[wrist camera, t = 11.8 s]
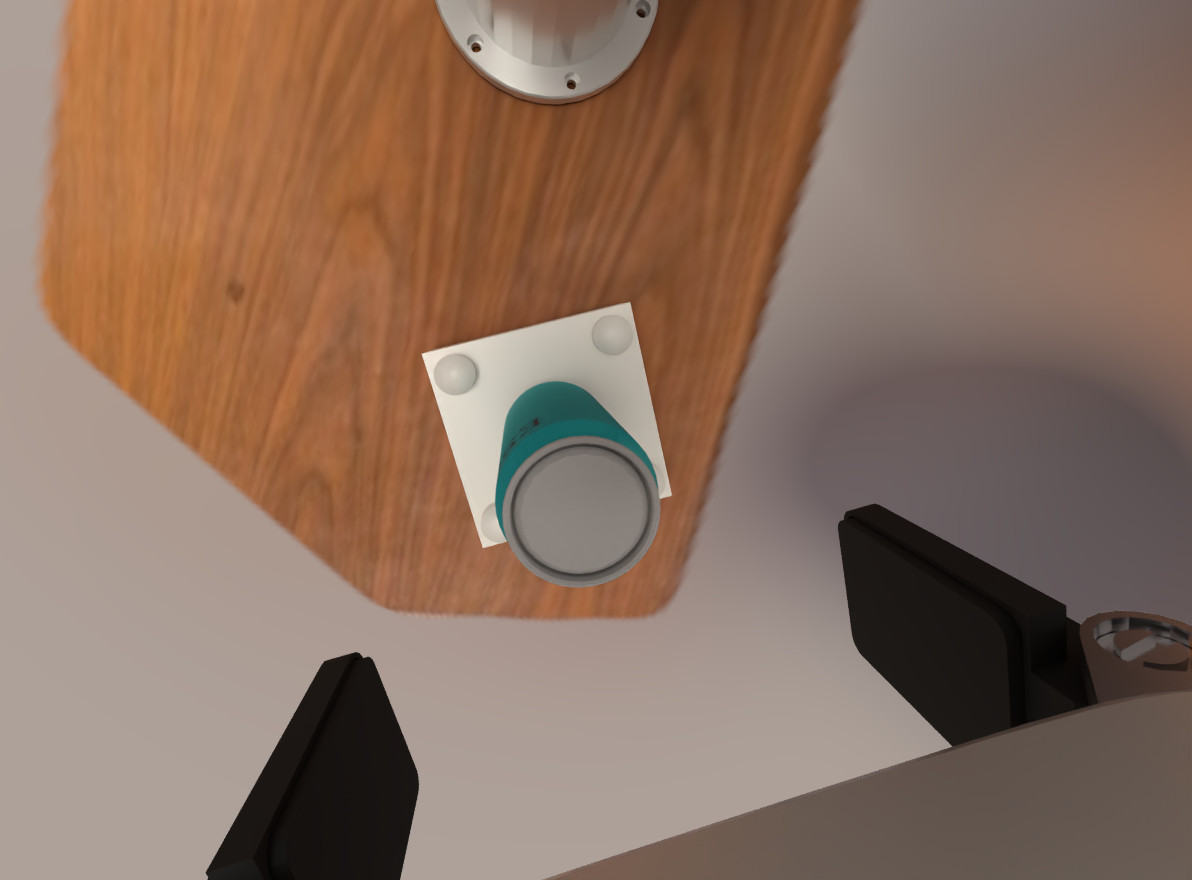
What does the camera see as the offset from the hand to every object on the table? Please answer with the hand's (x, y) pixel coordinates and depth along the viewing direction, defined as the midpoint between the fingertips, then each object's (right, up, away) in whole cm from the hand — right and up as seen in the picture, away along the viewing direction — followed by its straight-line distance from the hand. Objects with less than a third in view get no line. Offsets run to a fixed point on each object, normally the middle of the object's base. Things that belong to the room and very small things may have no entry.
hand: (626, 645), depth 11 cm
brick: (-4, +5, +26) cm, 26 cm away
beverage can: (-3, +5, +22) cm, 23 cm away
